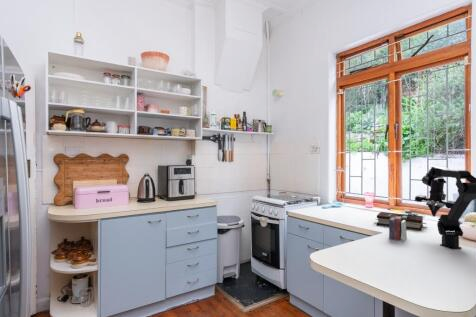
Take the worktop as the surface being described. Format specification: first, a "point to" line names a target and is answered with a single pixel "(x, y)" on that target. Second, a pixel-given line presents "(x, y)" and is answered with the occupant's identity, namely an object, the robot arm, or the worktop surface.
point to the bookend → (403, 230)
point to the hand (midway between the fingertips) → (434, 216)
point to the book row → (395, 228)
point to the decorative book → (411, 220)
